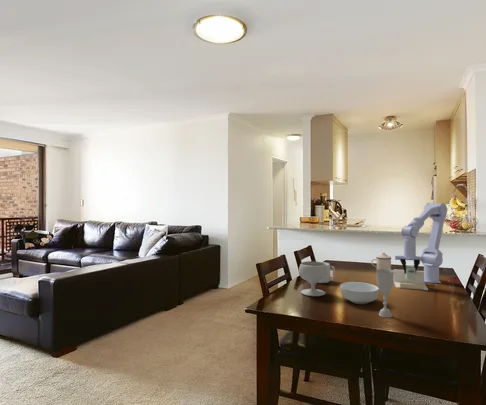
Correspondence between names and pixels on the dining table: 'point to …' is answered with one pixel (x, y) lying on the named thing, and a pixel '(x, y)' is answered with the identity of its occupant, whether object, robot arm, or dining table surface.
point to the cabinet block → (410, 272)
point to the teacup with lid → (383, 261)
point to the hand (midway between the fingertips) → (409, 273)
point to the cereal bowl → (359, 292)
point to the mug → (327, 273)
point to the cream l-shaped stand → (402, 282)
